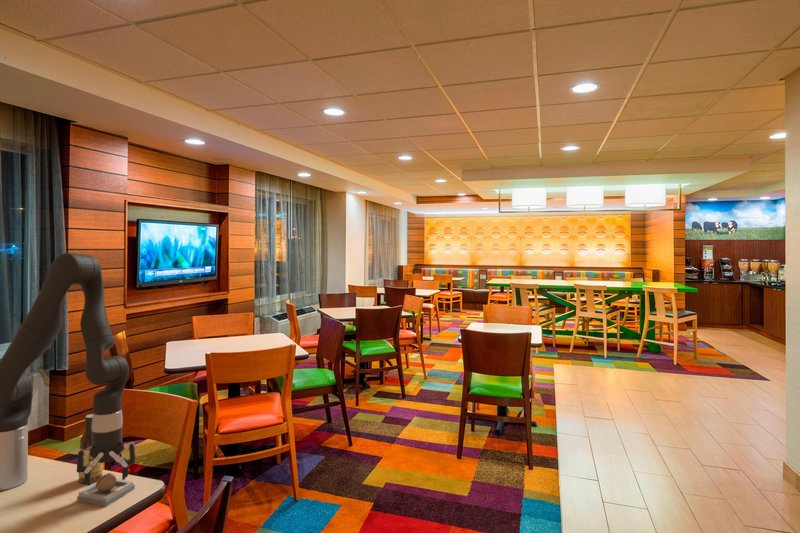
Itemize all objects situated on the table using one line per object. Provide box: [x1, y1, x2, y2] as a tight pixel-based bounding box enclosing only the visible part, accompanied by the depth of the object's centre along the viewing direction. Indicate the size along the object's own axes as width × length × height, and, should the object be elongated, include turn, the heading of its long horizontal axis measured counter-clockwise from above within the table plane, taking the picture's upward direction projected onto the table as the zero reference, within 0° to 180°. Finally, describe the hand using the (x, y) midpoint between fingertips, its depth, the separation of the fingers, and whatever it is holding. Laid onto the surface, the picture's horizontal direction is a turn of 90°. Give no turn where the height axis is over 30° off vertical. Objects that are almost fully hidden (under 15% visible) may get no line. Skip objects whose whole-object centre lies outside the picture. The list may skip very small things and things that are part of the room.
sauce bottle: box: [78, 413, 104, 484], centre depth 142 cm, size 7×6×20 cm
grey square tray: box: [76, 478, 136, 507], centre depth 134 cm, size 10×10×2 cm
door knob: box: [95, 472, 117, 492], centre depth 134 cm, size 5×5×5 cm
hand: (106, 481), depth 134 cm, fingers open, 8 cm apart
